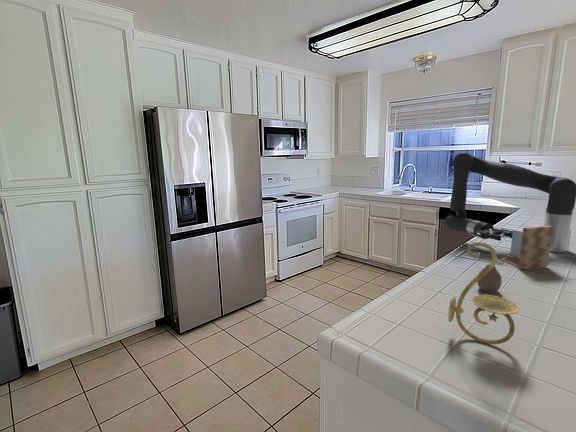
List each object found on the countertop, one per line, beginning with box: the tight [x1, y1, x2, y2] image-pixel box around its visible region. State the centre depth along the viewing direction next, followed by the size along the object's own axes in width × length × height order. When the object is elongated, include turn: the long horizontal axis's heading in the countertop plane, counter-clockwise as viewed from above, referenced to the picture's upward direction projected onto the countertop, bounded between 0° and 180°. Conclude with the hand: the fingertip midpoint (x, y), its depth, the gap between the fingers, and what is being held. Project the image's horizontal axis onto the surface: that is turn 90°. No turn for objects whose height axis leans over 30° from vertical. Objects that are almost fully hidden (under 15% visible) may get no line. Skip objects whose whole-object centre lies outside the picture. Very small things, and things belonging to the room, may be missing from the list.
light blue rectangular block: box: [509, 228, 523, 259], centre depth 131 cm, size 3×7×13 cm, turn 10°
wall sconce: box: [447, 241, 520, 345], centre depth 76 cm, size 14×10×25 cm
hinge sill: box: [499, 225, 553, 270], centre depth 130 cm, size 12×12×17 cm
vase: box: [476, 264, 503, 294], centre depth 106 cm, size 7×7×9 cm
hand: (508, 237), depth 137 cm, fingers open, 8 cm apart
